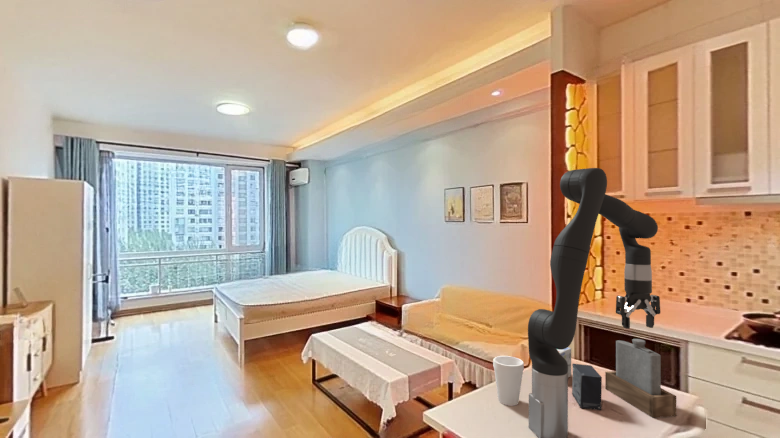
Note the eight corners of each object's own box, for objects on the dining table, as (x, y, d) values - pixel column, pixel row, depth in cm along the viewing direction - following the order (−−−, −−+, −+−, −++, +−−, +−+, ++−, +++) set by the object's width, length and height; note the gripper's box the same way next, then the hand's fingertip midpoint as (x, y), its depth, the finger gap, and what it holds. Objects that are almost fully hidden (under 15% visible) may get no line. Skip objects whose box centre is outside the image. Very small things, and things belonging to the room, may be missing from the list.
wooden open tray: (652, 417, 113) (652, 397, 114) (605, 388, 133) (605, 371, 133) (676, 416, 115) (676, 396, 115) (625, 387, 134) (625, 370, 135)
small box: (603, 411, 118) (603, 376, 118) (580, 408, 119) (580, 375, 119) (592, 395, 128) (592, 364, 128) (571, 394, 129) (571, 362, 129)
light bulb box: (554, 370, 150) (554, 343, 150) (572, 376, 144) (572, 347, 144) (540, 377, 143) (540, 348, 143) (558, 383, 138) (558, 353, 138)
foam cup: (487, 400, 124) (487, 360, 124) (502, 391, 130) (502, 353, 131) (514, 411, 117) (514, 368, 117) (528, 401, 123) (529, 361, 124)
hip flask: (613, 391, 131) (613, 333, 132) (623, 390, 132) (623, 332, 132) (654, 414, 116) (654, 348, 116) (665, 412, 117) (665, 347, 117)
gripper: (627, 280, 120) (627, 331, 119) (667, 279, 122) (667, 330, 122) (609, 276, 127) (610, 325, 127) (647, 275, 129) (648, 323, 129)
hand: (638, 327), depth 124 cm, fingers open, 8 cm apart
